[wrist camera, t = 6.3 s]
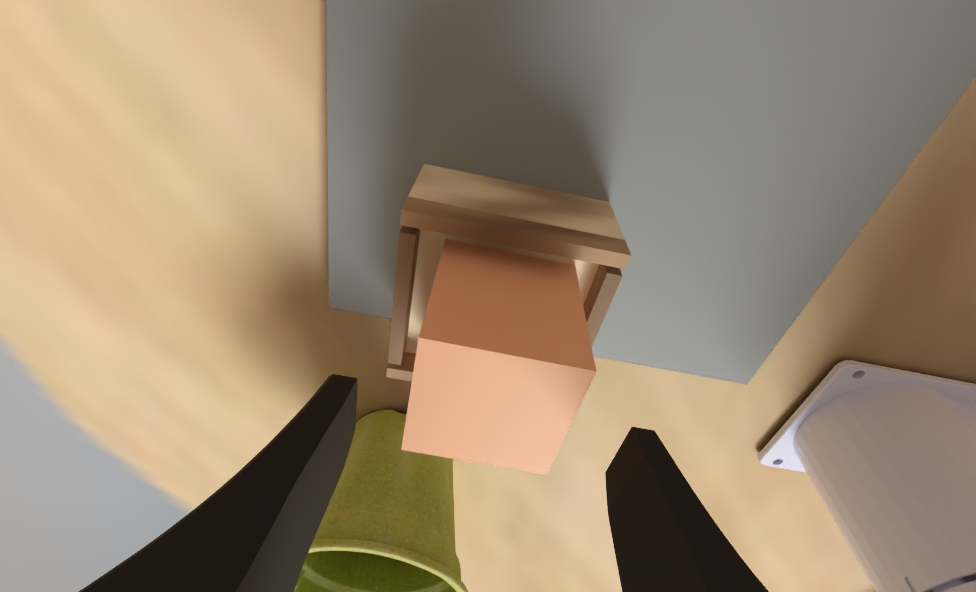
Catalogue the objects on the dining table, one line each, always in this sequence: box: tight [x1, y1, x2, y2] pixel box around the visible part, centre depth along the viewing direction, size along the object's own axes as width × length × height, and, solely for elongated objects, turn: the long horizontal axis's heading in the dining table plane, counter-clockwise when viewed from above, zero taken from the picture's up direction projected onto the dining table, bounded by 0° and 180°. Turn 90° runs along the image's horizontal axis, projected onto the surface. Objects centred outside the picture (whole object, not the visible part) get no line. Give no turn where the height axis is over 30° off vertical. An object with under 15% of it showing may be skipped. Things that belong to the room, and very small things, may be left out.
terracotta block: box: [401, 239, 596, 475], centre depth 14 cm, size 4×4×5 cm
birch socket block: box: [386, 164, 631, 382], centre depth 17 cm, size 7×7×4 cm
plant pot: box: [294, 409, 468, 592], centre depth 24 cm, size 9×9×9 cm
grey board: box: [326, 0, 976, 384], centre depth 17 cm, size 20×18×1 cm
